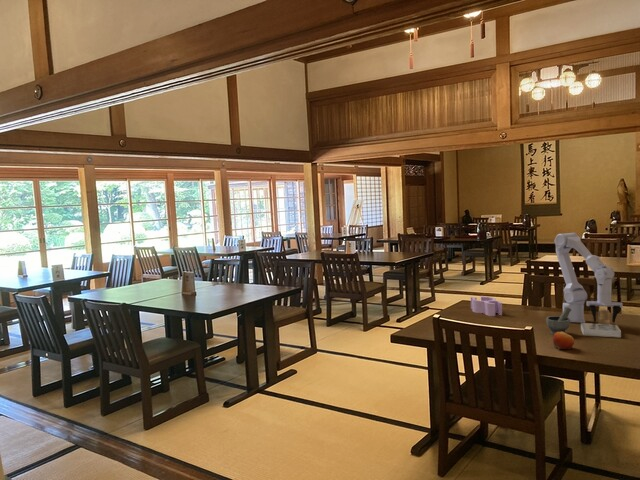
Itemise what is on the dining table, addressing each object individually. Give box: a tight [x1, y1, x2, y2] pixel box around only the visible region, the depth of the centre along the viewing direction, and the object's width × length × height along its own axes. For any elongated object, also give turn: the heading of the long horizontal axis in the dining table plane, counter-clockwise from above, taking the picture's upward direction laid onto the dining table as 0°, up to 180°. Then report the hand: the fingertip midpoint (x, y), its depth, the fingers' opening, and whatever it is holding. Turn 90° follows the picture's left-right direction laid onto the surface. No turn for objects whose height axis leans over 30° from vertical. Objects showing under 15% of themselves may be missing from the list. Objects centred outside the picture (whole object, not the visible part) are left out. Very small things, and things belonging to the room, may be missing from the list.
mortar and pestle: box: [545, 307, 571, 335], centre depth 225 cm, size 11×9×12 cm
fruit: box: [552, 332, 575, 351], centre depth 204 cm, size 8×8×8 cm
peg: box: [598, 309, 611, 324], centre depth 231 cm, size 4×4×8 cm
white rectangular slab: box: [580, 322, 622, 339], centre depth 223 cm, size 14×10×3 cm
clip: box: [470, 295, 503, 317], centre depth 270 cm, size 20×12×7 cm, turn 15°
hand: (604, 321), depth 231 cm, fingers open, 7 cm apart
